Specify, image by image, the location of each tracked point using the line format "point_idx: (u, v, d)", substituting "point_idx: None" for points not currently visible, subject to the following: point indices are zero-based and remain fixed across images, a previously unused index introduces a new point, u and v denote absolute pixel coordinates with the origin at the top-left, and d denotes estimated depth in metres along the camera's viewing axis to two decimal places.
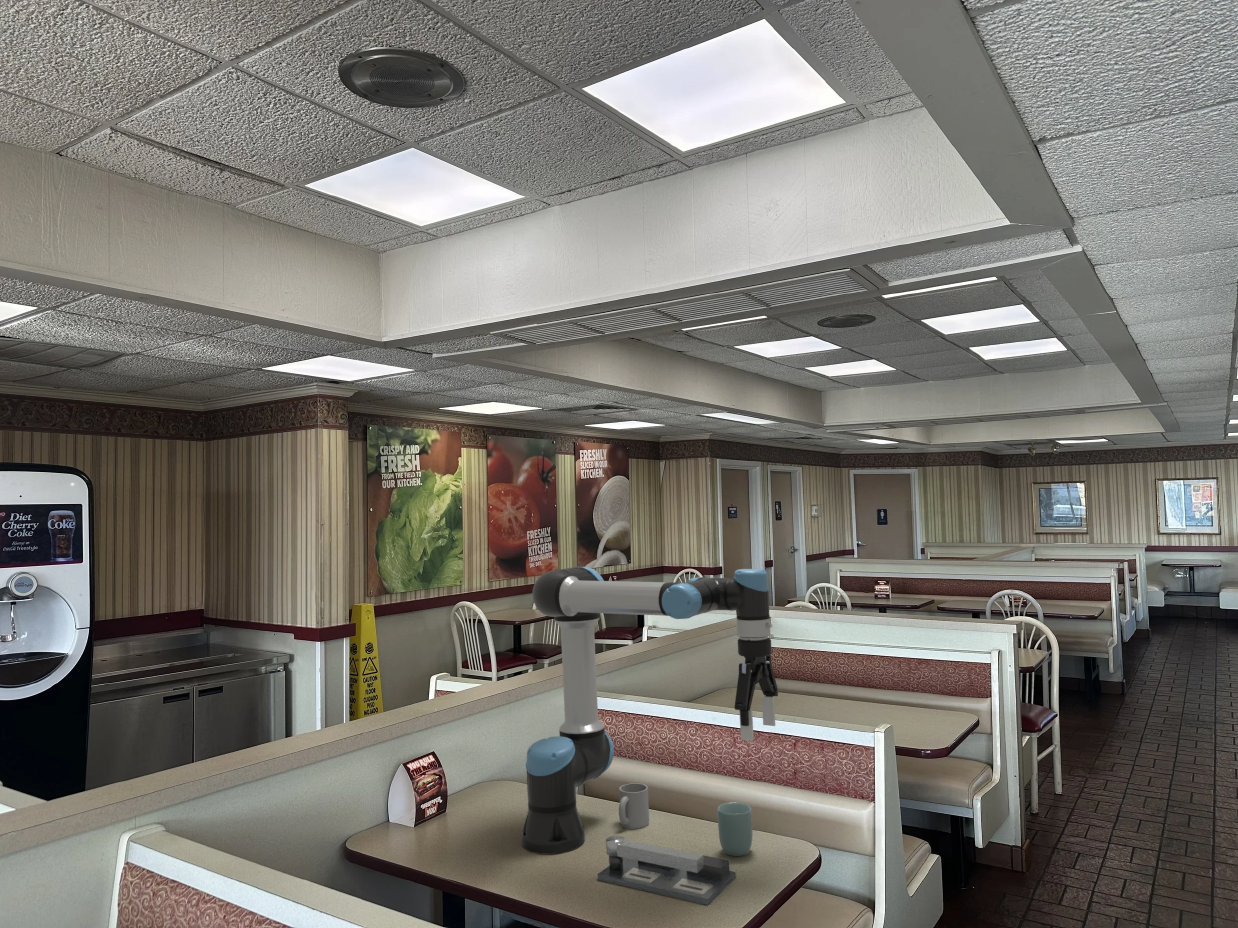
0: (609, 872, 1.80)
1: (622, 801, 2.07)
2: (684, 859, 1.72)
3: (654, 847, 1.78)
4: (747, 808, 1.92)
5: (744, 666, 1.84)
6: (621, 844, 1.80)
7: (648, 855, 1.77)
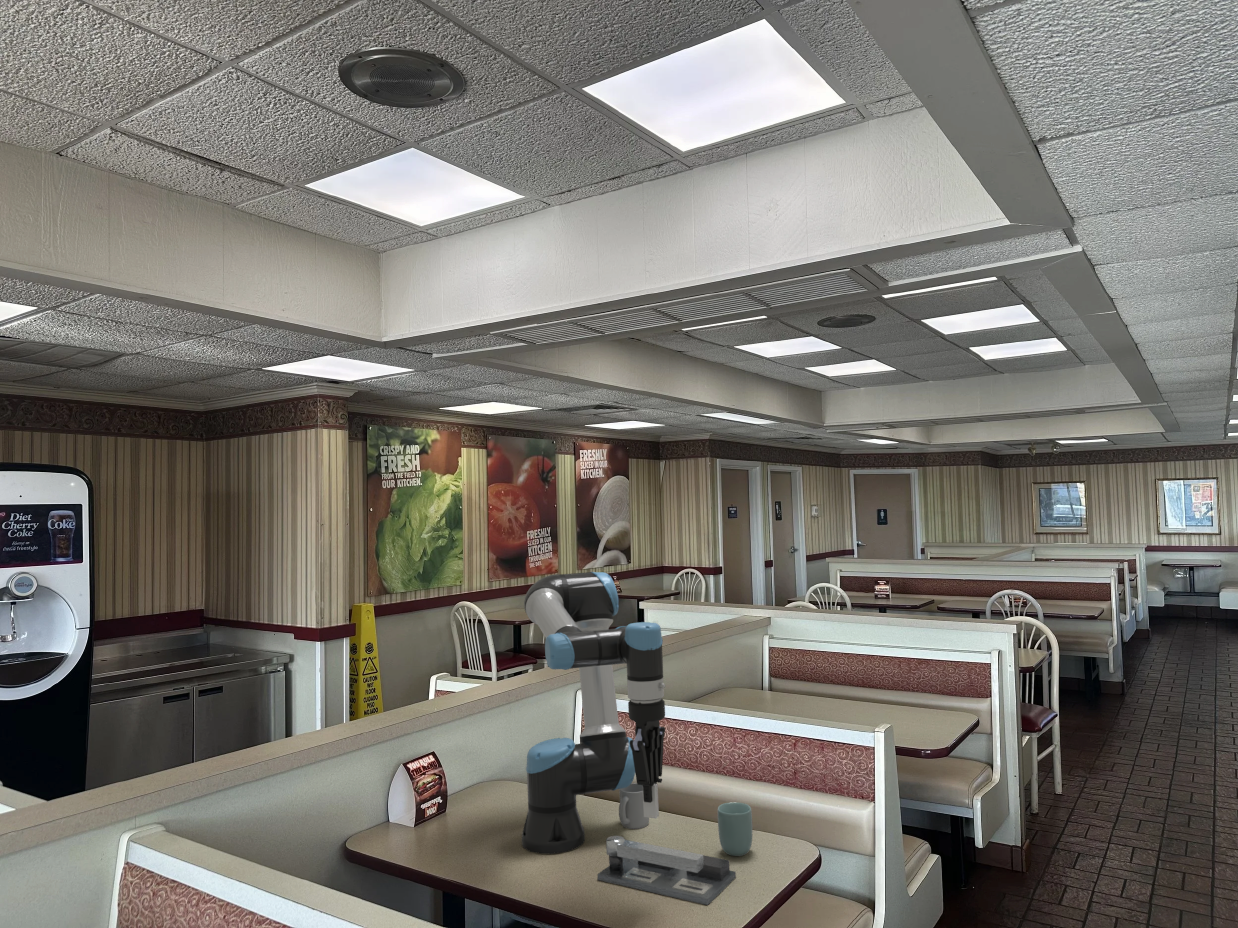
0: (609, 872, 1.80)
1: (622, 801, 2.07)
2: (684, 859, 1.72)
3: (654, 847, 1.78)
4: (747, 808, 1.92)
5: (635, 745, 1.66)
6: (621, 844, 1.80)
7: (648, 855, 1.77)
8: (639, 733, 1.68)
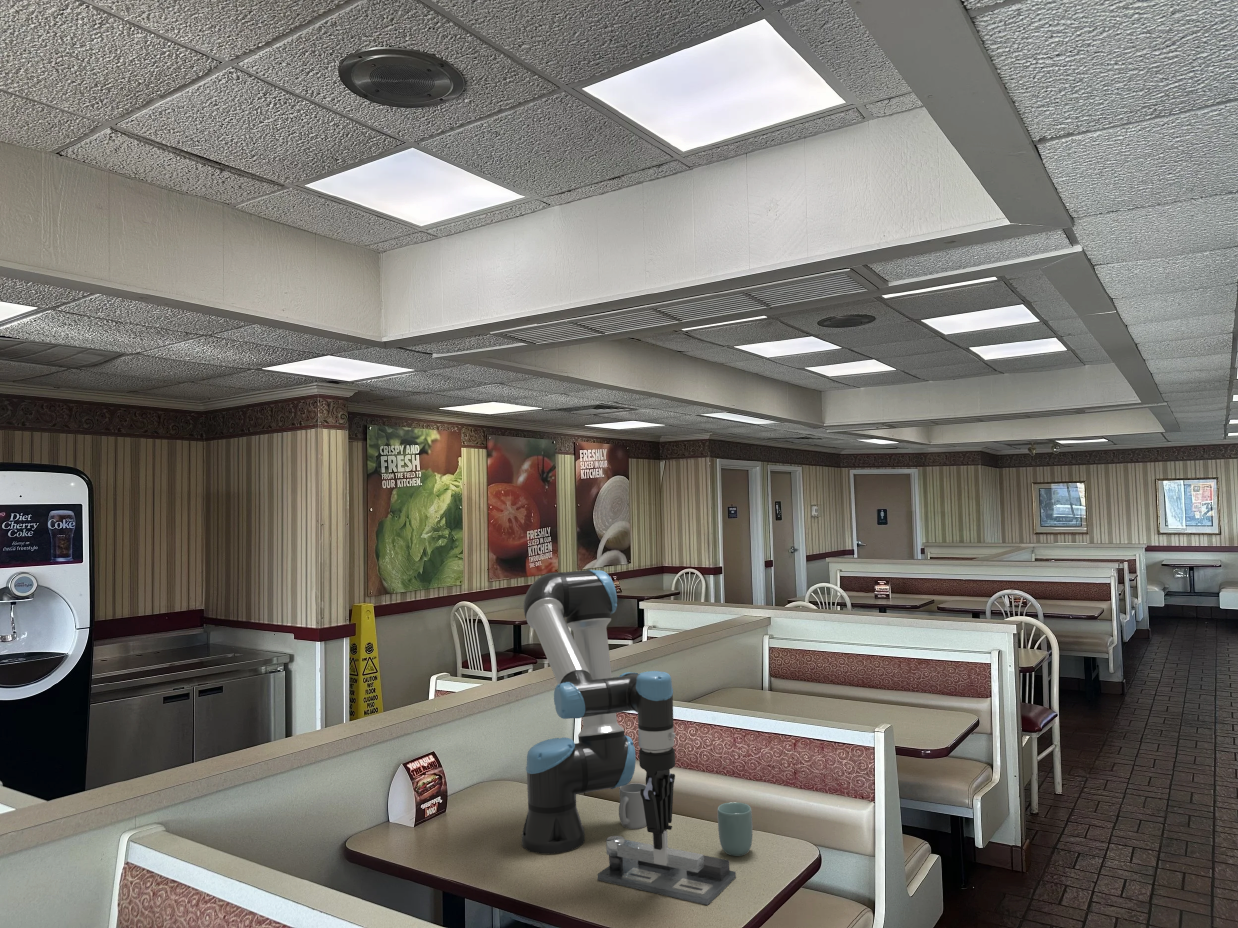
0: (609, 872, 1.80)
1: (622, 801, 2.07)
2: (684, 859, 1.72)
3: None
4: (747, 808, 1.92)
5: (646, 795, 1.69)
6: (621, 844, 1.80)
7: (648, 855, 1.77)
8: (650, 782, 1.71)
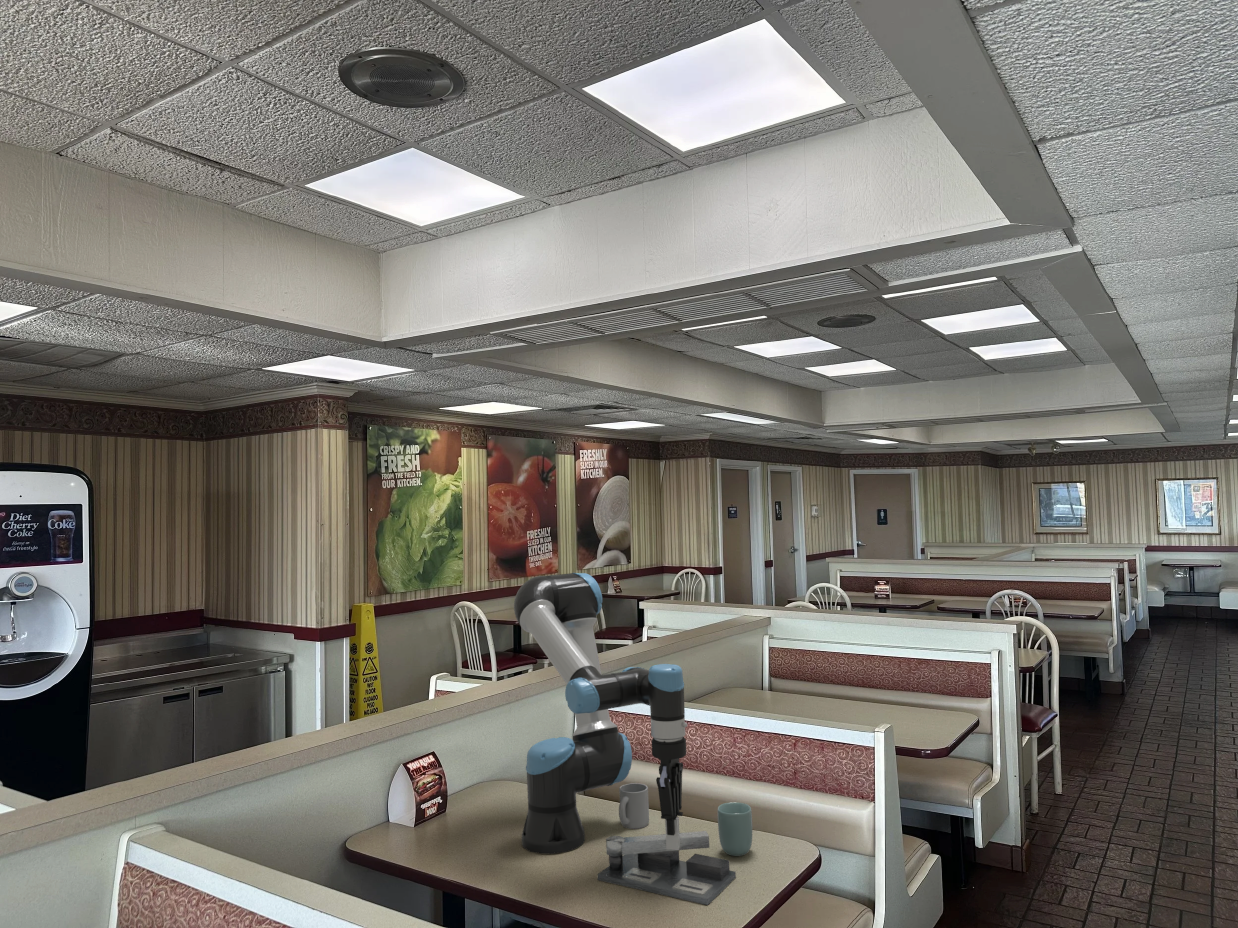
0: (609, 872, 1.80)
1: (622, 801, 2.07)
2: (696, 838, 1.83)
3: (658, 836, 1.84)
4: (747, 808, 1.92)
5: (662, 782, 1.76)
6: (626, 842, 1.82)
7: (657, 845, 1.82)
8: (664, 770, 1.78)
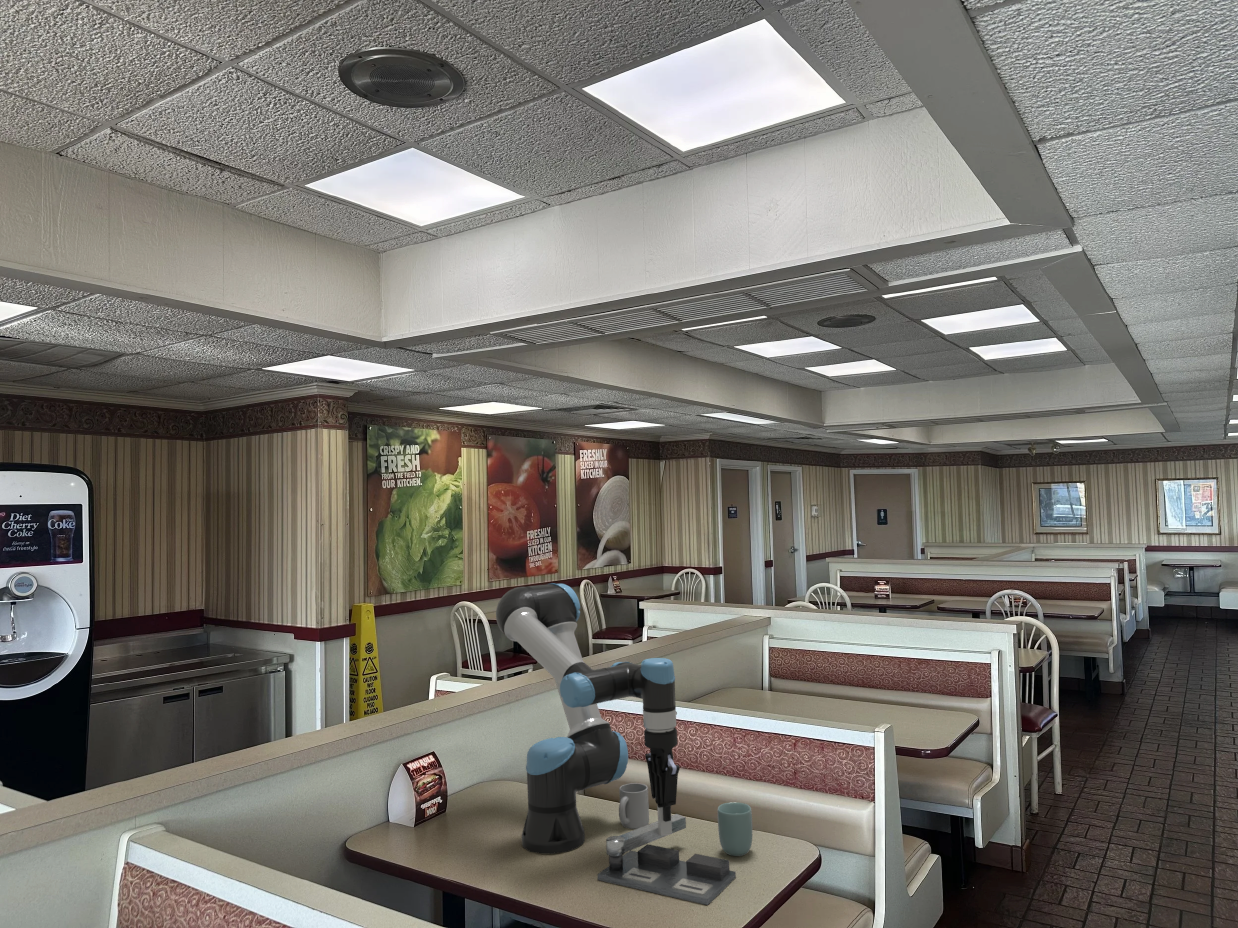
0: (609, 872, 1.80)
1: (622, 801, 2.07)
2: (677, 821, 1.93)
3: (646, 827, 1.89)
4: (747, 808, 1.92)
5: (675, 770, 1.84)
6: (626, 839, 1.83)
7: (650, 835, 1.87)
8: (670, 759, 1.86)
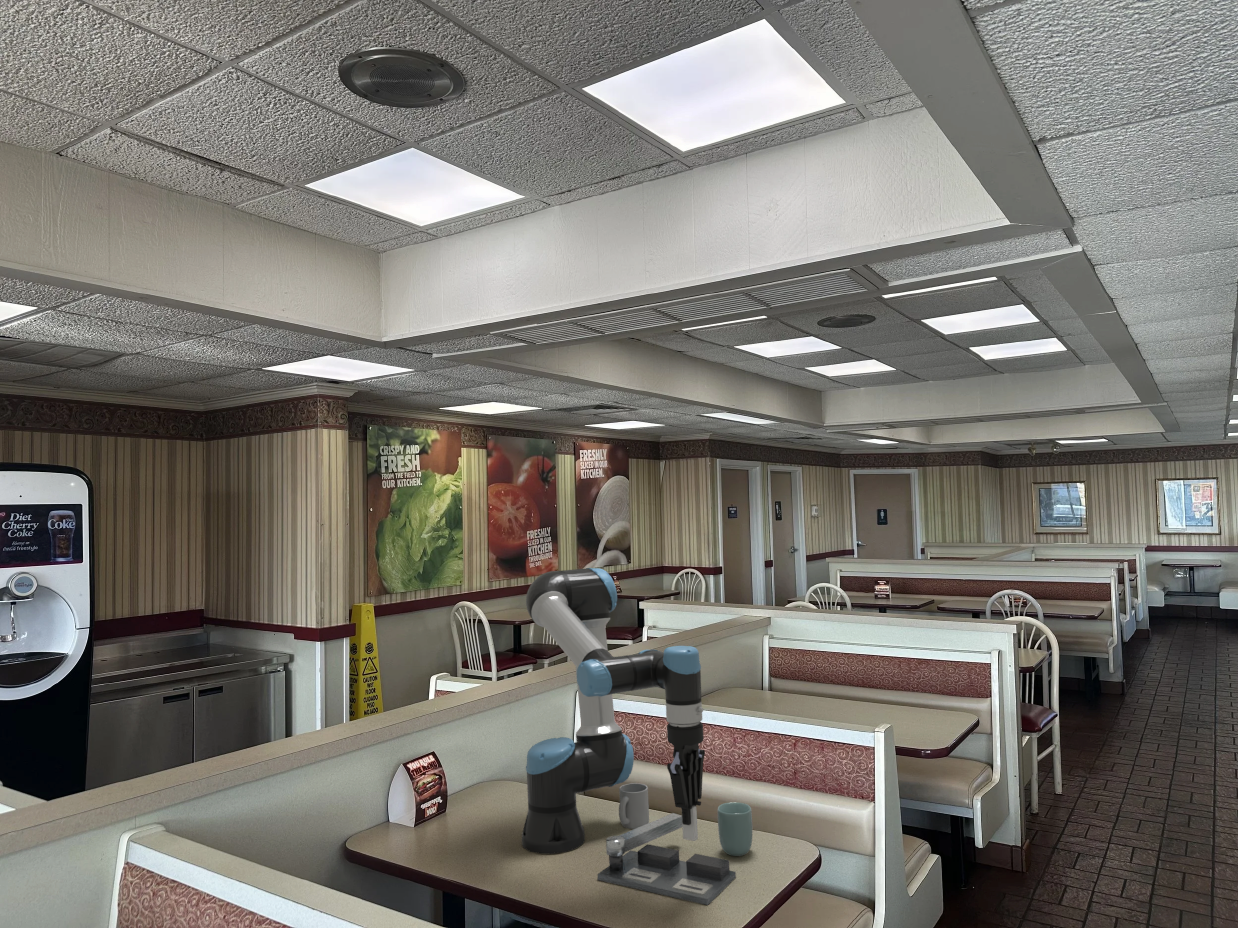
0: (609, 872, 1.80)
1: (622, 801, 2.07)
2: (674, 820, 1.94)
3: (644, 827, 1.90)
4: (747, 808, 1.92)
5: (673, 769, 1.68)
6: (626, 839, 1.83)
7: (649, 834, 1.88)
8: (677, 756, 1.70)
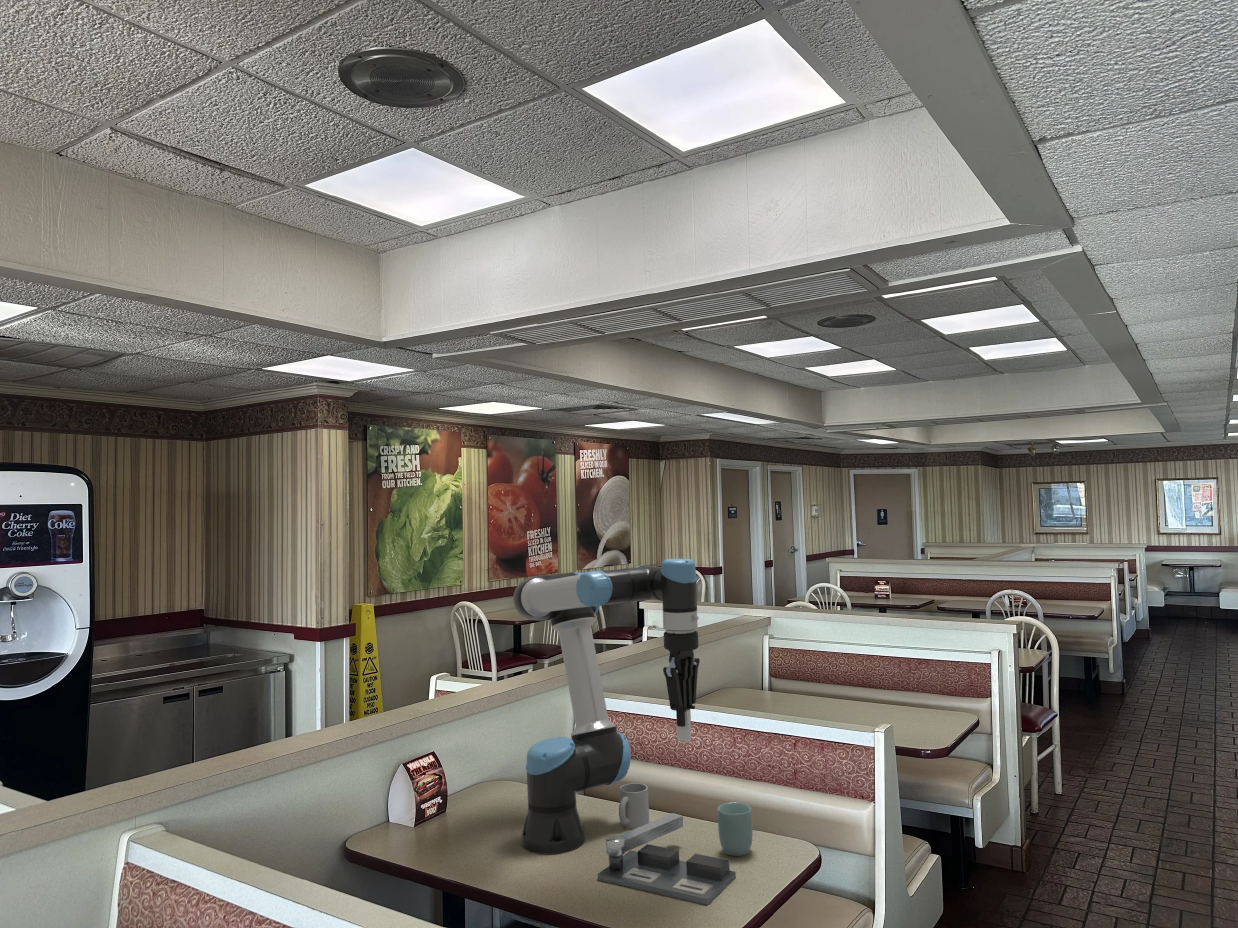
0: (609, 872, 1.80)
1: (622, 801, 2.07)
2: (674, 820, 1.94)
3: (644, 827, 1.90)
4: (747, 808, 1.92)
5: (668, 672, 1.76)
6: (626, 839, 1.83)
7: (649, 834, 1.88)
8: (673, 661, 1.78)
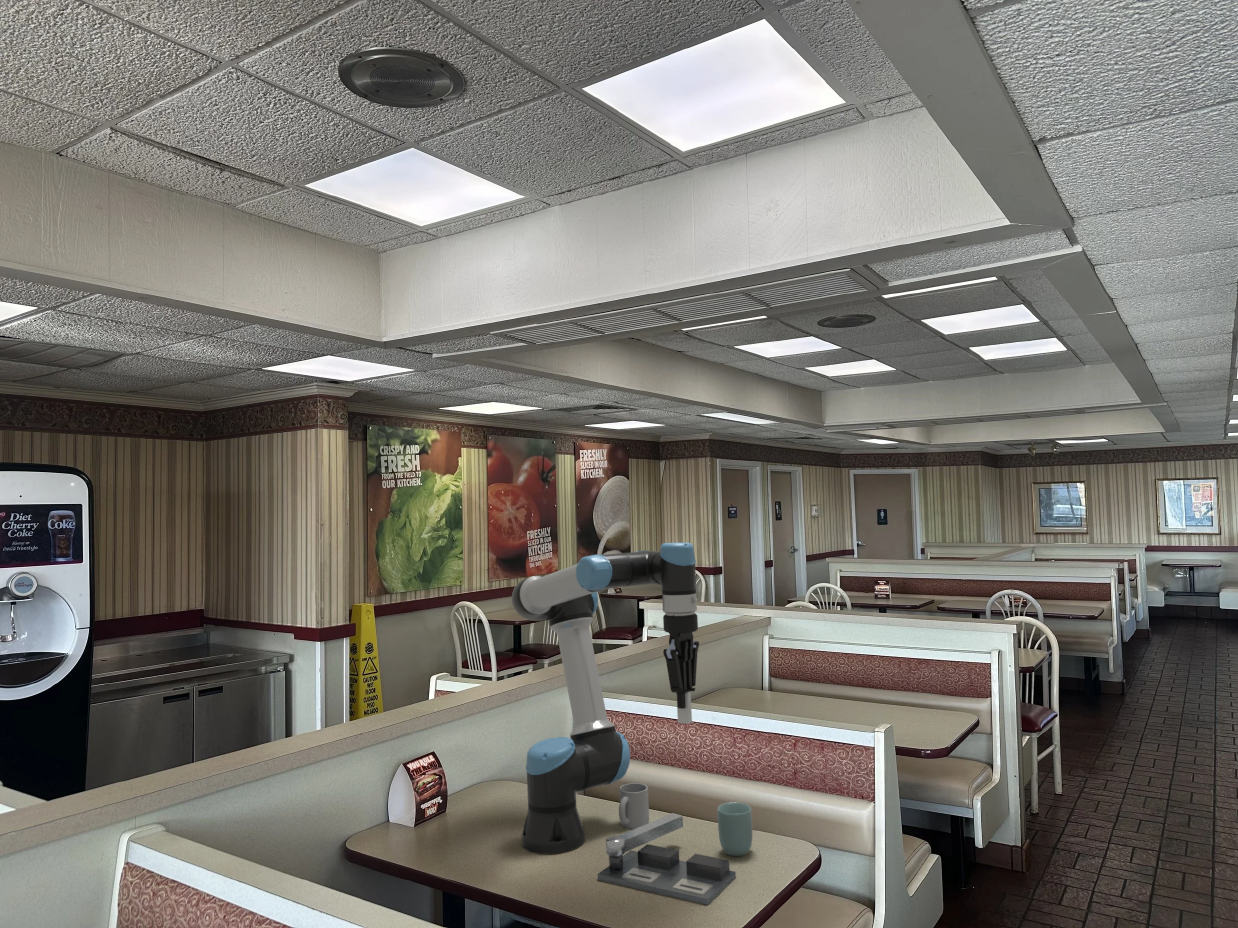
0: (609, 872, 1.80)
1: (622, 801, 2.07)
2: (674, 820, 1.94)
3: (644, 827, 1.90)
4: (747, 808, 1.92)
5: (668, 654, 1.77)
6: (626, 839, 1.83)
7: (649, 834, 1.88)
8: (672, 643, 1.79)
